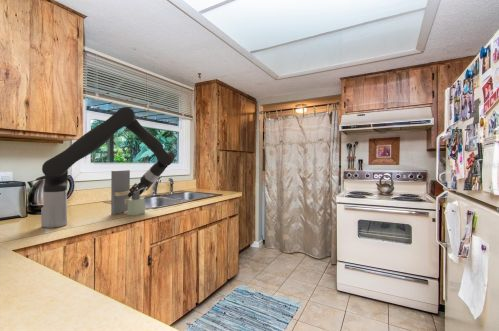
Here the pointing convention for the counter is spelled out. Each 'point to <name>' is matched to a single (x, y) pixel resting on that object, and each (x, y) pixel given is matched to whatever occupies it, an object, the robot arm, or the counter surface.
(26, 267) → the counter surface
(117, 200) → the wall board
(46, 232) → the counter surface
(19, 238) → the counter surface
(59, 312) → the counter surface
